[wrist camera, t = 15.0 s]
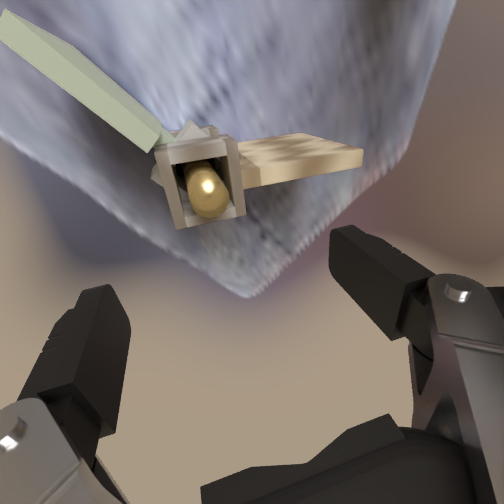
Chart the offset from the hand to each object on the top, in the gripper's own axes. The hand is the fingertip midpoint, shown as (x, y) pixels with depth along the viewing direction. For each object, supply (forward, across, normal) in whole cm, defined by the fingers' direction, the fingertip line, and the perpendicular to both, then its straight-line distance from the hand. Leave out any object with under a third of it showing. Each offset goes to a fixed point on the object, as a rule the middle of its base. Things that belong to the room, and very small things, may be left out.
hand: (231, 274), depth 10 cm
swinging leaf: (+28, +3, -3) cm, 28 cm away
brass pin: (+29, 0, +1) cm, 29 cm away
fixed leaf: (+29, -6, +1) cm, 29 cm away
